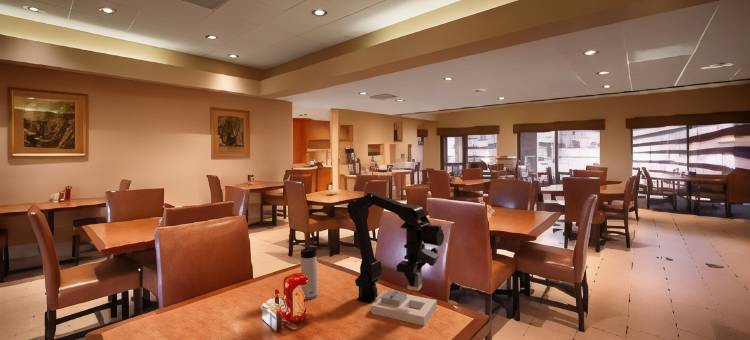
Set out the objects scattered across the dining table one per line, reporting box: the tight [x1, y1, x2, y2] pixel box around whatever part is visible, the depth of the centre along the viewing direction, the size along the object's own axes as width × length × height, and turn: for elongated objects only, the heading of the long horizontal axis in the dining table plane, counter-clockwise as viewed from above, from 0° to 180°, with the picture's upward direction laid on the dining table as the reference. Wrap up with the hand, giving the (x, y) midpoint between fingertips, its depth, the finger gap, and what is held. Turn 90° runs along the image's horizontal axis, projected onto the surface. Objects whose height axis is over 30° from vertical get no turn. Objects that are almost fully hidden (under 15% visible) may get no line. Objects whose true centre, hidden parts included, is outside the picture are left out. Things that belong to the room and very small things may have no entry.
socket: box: [370, 290, 438, 326], centre depth 126 cm, size 20×14×4 cm
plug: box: [406, 269, 423, 292], centre depth 123 cm, size 4×4×6 cm
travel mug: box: [300, 246, 319, 301], centre depth 139 cm, size 6×7×20 cm
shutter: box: [381, 289, 408, 306], centre depth 127 cm, size 7×7×3 cm
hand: (414, 284), depth 123 cm, fingers closed on plug, 4 cm apart
